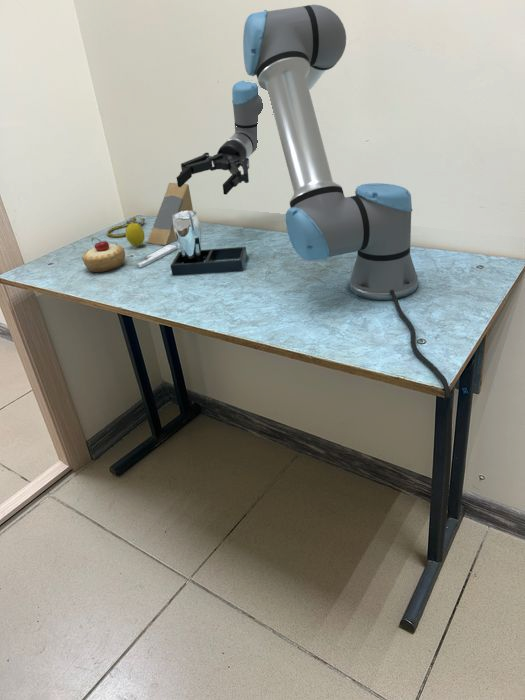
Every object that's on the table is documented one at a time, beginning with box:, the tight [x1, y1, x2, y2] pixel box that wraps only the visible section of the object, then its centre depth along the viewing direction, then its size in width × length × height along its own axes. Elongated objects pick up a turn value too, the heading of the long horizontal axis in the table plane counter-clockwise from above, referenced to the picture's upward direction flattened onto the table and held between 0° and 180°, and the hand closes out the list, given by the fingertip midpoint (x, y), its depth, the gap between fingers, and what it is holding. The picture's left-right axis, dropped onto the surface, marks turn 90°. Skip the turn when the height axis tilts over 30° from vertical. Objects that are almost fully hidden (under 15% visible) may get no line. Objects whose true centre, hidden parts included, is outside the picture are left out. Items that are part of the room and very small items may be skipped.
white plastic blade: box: [136, 244, 178, 268], centre depth 161 cm, size 5×15×1 cm, turn 145°
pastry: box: [81, 237, 126, 273], centre depth 156 cm, size 12×12×9 cm
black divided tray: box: [170, 246, 248, 277], centre depth 149 cm, size 10×19×3 cm, turn 85°
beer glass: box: [172, 210, 205, 264], centre depth 147 cm, size 7×7×15 cm
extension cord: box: [106, 216, 146, 238], centre depth 186 cm, size 12×16×2 cm
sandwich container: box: [146, 182, 194, 246], centre depth 172 cm, size 9×15×15 cm, turn 145°
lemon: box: [125, 222, 145, 248], centre depth 168 cm, size 6×6×8 cm
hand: (201, 186), depth 142 cm, fingers open, 13 cm apart
